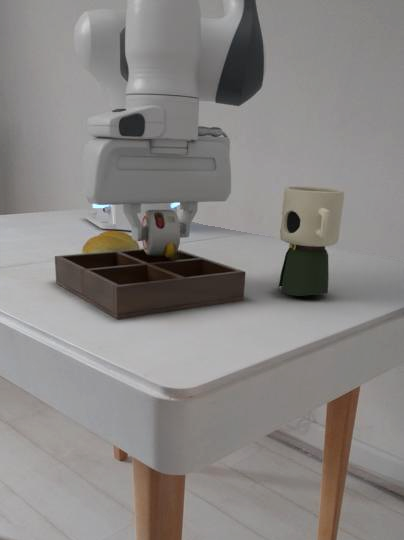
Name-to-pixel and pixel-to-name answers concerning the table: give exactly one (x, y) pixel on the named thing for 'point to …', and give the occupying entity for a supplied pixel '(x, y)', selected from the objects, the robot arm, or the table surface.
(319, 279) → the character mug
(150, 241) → the roller toy
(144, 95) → the robot arm
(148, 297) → the grid
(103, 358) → the table surface
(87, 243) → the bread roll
